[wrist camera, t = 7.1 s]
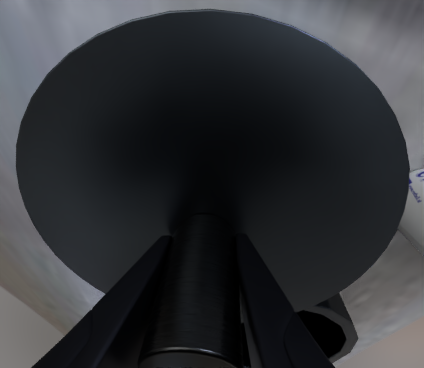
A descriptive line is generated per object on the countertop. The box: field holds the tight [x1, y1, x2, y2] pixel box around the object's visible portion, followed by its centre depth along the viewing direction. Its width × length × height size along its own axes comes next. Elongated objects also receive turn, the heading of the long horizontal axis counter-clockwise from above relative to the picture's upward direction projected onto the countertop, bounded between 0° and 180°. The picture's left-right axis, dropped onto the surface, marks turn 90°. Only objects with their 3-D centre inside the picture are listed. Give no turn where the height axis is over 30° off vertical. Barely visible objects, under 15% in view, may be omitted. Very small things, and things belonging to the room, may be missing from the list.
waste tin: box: [241, 293, 358, 368], centre depth 22 cm, size 14×14×6 cm
